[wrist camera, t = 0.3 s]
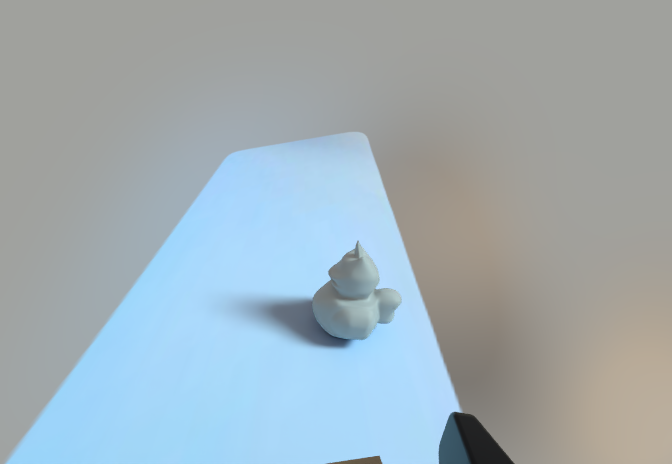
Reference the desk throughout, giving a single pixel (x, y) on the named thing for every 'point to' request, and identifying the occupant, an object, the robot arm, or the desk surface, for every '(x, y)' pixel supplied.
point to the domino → (362, 461)
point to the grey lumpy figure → (354, 298)
